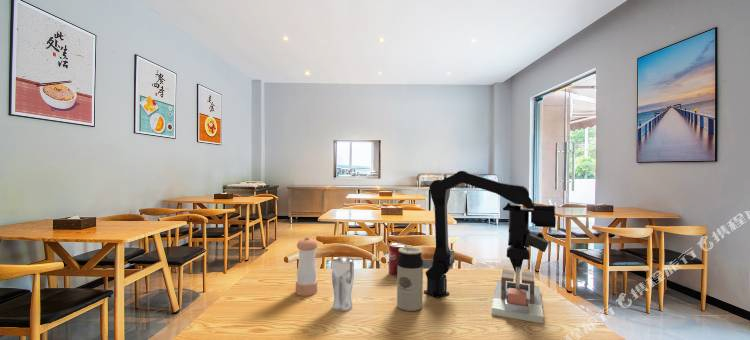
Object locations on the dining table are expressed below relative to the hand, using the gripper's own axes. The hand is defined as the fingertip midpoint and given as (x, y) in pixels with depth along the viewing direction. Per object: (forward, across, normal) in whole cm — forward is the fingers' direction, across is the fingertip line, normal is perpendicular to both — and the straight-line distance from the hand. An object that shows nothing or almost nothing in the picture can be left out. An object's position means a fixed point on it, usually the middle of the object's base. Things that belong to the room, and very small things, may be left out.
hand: (517, 274), depth 108 cm
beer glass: (+10, -23, +50) cm, 56 cm away
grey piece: (+8, -6, 0) cm, 10 cm away
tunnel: (+9, +4, 0) cm, 10 cm away
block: (+8, -6, 0) cm, 10 cm away
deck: (+11, +4, 0) cm, 11 cm away
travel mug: (+11, -14, +31) cm, 36 cm away
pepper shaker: (+11, -17, +68) cm, 70 cm away
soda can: (+11, +15, +45) cm, 49 cm away
